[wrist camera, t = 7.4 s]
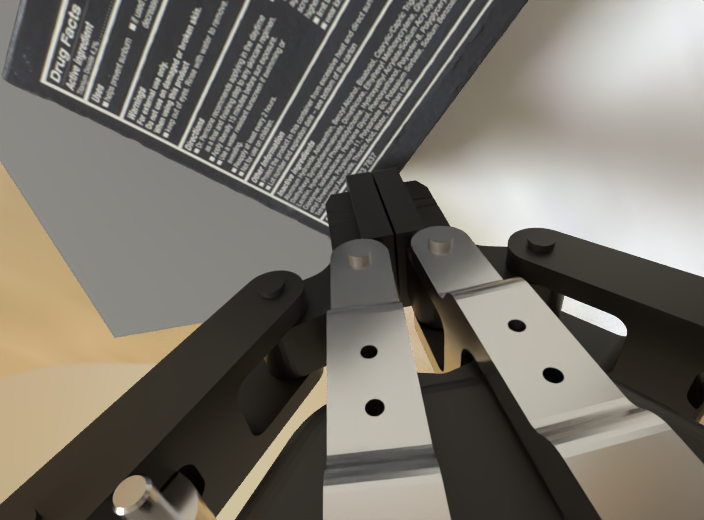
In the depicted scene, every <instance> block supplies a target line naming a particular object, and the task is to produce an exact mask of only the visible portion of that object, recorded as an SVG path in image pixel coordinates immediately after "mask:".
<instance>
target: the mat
mask: <svg viewBox="0 0 704 520" xmlns="http://www.w3.org/2000/svg"><path fill="white" fill-rule="evenodd" d="M19 3H20V0H0V161H1V163H2V164H3V166H4V168H5V169H6V171H7V172H8V174H9V175H10V177H11V178H12V180H13V181H14V183H15V184H16V186H17V188H18V189H19V191H20V192H21V194H22V195H23V197H24V198H25V200H26V201H27V203H28V205H29V206H30V208H31V209H32V211H33V212H34V214H35V215H36V217H37V218H38V220H39V222H40V223H41V225H42V226H43V228H44V229H45V231H46V232H47V234H48V235H49V237H50V239H51V240H52V242H53V243H54V245H55V246H56V248H57V249H58V251H59V252H60V254H61V256H62V257H63V259H64V260H65V262H66V263H67V265H68V266H69V268H70V269H71V271H72V273H73V274H74V276H75V277H76V279H77V280H78V282H79V283H80V285H81V286H82V288H83V290H84V291H85V293H86V294H87V296H88V297H89V299H90V300H91V302H92V303H93V305H94V307H95V308H96V310H97V311H98V313H99V314H100V316H101V317H102V319H103V320H104V322H105V324H106V325H107V327H108V328H109V330H110V331H111V333H112V334H113V336H114V337H115V338H116V337H122V336H128V335H134V334H139V333H145V332H151V331H157V330H162V329H168V328H174V327H180V326H186V325H191V324H197V323H203V322H205V321H206V320H207V319H208V318H210V317H211V316H212V315H213V314H214V313H215V312H216V311H217V310H219V309H220V308H221V307H222V306H223V305H224V304H225V303H226V302H228V301H229V300H230V299H231V298H232V297H233V296H234V295H235V294H236V293H238V292H239V291H240V290H241V289H242V288H243V287H244V286H245V285H247V284H248V283H249V282H250V281H251V280H253V279H254V278H256V277H257V276H259V275H262V274H264V273H267V272H271V271H278V270H284V271H290V272H293V273H296V274H297V275H299V276H300V277H301V279H302V280H305V279H307V278H310V277H312V276H314V275H316V274H318V273H320V272H321V271H323V270H324V269H325V268H326V267H327V266H328V265H329V264H330V257H331V254H332V245H331V240H330V239H328V238H327V237H326V236H325V235H323V234H321V233H319V232H317V231H315V230H313V229H311V228H309V227H307V226H305V225H303V224H300V223H298V222H297V221H296V220H294V219H291V218H289V217H287V216H285V215H282V214H280V213H278V212H276V211H273V210H272V209H270V208H268V207H266V206H264V205H262V204H260V203H259V202H257V201H255V200H253V199H251V198H249V197H246V196H244V195H242V194H240V193H237V192H235V191H234V190H232V189H230V188H227V187H226V186H224V185H221V184H219V183H217V182H215V181H213V180H211V179H209V178H207V177H205V176H203V175H201V174H199V173H197V172H195V171H193V170H191V169H189V168H186V167H184V166H182V165H180V164H178V163H176V162H174V161H172V160H170V159H168V158H166V157H164V156H162V155H160V154H158V153H156V152H154V151H152V150H150V149H148V148H146V147H144V146H142V145H141V144H140V143H138V142H136V141H134V140H131V139H128V138H126V137H124V136H122V135H120V134H118V133H116V132H114V131H112V130H110V129H108V128H106V127H104V126H102V125H100V124H98V123H96V122H94V121H92V120H90V119H88V118H85V117H82V116H79V115H77V114H75V113H73V112H71V111H70V110H68V109H65V108H63V107H61V106H60V105H58V104H56V103H54V102H52V101H49V100H45V99H42V98H40V97H37V96H35V95H33V94H31V93H28V92H26V91H24V90H22V89H20V88H18V87H15V86H13V85H11V84H9V83H7V82H6V81H5V80H3V78H2V71H3V68H4V64H5V59H6V55H7V50H8V46H9V42H10V39H11V35H12V31H13V27H14V23H15V19H16V15H17V11H18V7H19Z"/></svg>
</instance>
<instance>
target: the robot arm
mask: <svg viewBox="0 0 704 520" xmlns="http://www.w3.org/2000/svg"><path fill="white" fill-rule="evenodd" d="M346 185H347V192H343V193H337V194H331V195H330V197H329V199H328V200H327V202H326V204H325V206H326V212H327V219H328V225H329V232H330V239H331V245H332V254H331V257H330V264H329V265H328V266H327V267H326V268H325V269H324V270H323V271H321V272H320V273H318V274H316V275H314V276H312V277H310V278H307V279H305V280H302V279H301V277H300V276H299V275H297V274H296V273H293V272H290V271H284V270H278V271H271V272H267V273H264V274H262V275H259V276H257V277H256V278H254V279H253V280H251V281H250V282H249V283H248V284H247V285H245V286H244V287H243V288H242V289H241V290H240V291H239V292H238V293H236V294H235V295H234V296H233V297H232V298H231V299H230V300H229V301H228V302H226V303H225V304H224V305H223V306H222V307H221V308H220V309H219V310H217V311H216V312H215V313H214V314H213V315H212V316H211V317H210V318H208V319H207V320H206V321H205V322H204V323H203V324H202V325H201V326H200V327H198V328H197V329H196V330H195V331H194V332H193V333H192V334H191V335H189V336H188V337H187V338H186V339H185V340H184V341H183V342H182V343H180V344H179V345H178V346H177V347H176V348H175V349H174V350H173V351H172V352H170V353H169V354H168V355H167V356H166V357H165V358H164V359H163V360H161V361H160V362H159V363H158V364H157V365H156V366H155V367H154V368H152V369H151V370H150V371H149V372H148V373H147V374H146V375H145V376H144V377H142V378H141V379H140V380H139V381H138V382H137V383H136V384H135V385H133V386H132V387H131V388H130V389H129V390H128V391H127V392H126V393H125V394H123V395H122V396H121V397H120V398H119V399H118V400H117V401H116V402H114V403H113V404H112V405H111V406H110V407H109V408H108V409H107V410H105V411H104V412H103V413H102V414H101V415H100V416H99V417H98V418H96V419H95V420H94V421H93V422H92V423H91V424H90V425H89V426H88V427H86V428H85V429H84V430H83V431H82V432H81V433H80V434H79V435H77V436H76V437H75V438H74V439H73V440H72V441H71V442H70V443H69V444H67V445H66V446H65V447H64V448H63V449H62V450H61V451H60V452H58V453H57V454H56V455H55V456H54V457H53V458H52V459H51V460H49V462H47V463H46V464H45V465H44V466H43V467H42V468H41V469H39V470H38V471H37V472H36V473H35V474H34V475H33V476H32V477H30V478H29V479H28V480H27V481H26V482H25V483H24V484H23V485H22V486H20V487H19V488H18V489H17V490H16V491H15V492H14V493H13V494H11V495H10V496H9V497H8V498H7V499H6V500H5V501H4V502H3V503H1V504H0V520H216V516H217V515H218V514H219V512H220V511H221V509H222V508H223V507H224V506H225V504H226V503H227V502H228V500H229V499H230V498H231V496H232V495H233V494H234V492H235V491H236V490H237V488H238V487H239V486H240V485H241V483H242V482H243V481H244V479H245V478H246V476H247V475H248V474H249V473H250V471H251V470H252V469H253V467H254V466H255V465H256V463H257V462H258V461H259V459H260V458H261V457H262V455H263V454H264V453H265V451H266V450H267V449H268V447H269V446H270V445H271V443H272V442H273V441H274V439H275V438H276V437H277V435H278V434H279V433H280V431H281V430H282V429H283V427H284V426H285V425H286V423H287V422H288V421H289V420H290V418H291V417H292V415H293V414H294V413H295V412H296V410H297V409H298V407H299V406H300V405H301V404H302V402H303V401H304V399H305V398H306V397H307V396H308V394H309V393H310V392H311V390H312V389H313V388H314V386H315V385H316V384H317V382H318V381H319V380H320V378H321V376H322V374H323V367H325V366H327V404H326V405H324V406H322V407H321V408H320V409H318V410H317V411H316V412H314V413H313V414H312V415H311V416H310V417H308V418H307V419H306V420H305V421H304V422H303V423H302V424H301V426H300V427H299V428H298V429H297V430H296V431H295V432H294V434H293V435H292V437H291V438H290V439H289V441H288V442H287V444H286V446H285V447H284V448H283V450H282V451H281V453H280V454H279V456H278V457H277V459H276V460H275V462H274V463H273V464H272V466H271V467H270V469H269V470H268V472H267V473H266V475H265V476H264V478H263V479H262V481H261V482H260V484H259V485H258V487H257V488H256V490H255V491H254V493H253V494H252V495H251V497H250V498H249V500H248V501H247V503H246V504H245V506H244V507H243V509H242V510H241V512H240V513H239V515H238V516H237V518H236V519H235V520H704V277H701V276H698V275H694V274H691V273H688V272H685V271H682V270H678V269H675V268H672V267H669V266H666V265H663V264H659V263H656V262H653V261H650V260H647V259H643V258H640V257H637V256H634V255H631V254H628V253H624V252H621V251H618V250H615V249H612V248H608V247H605V246H602V245H599V244H596V243H593V242H589V241H586V240H583V239H580V238H577V237H573V236H570V235H567V234H564V233H561V232H558V231H554V230H550V229H545V228H528V229H523V230H520V231H517V232H515V233H514V234H512V235H511V236H510V238H509V240H508V247H494V246H480V245H475V244H474V242H473V241H472V240H471V238H470V237H469V236H468V235H467V234H466V233H465V232H463V231H462V230H460V229H457V228H454V227H450V225H449V223H448V222H447V220H446V218H445V216H444V215H443V213H442V211H441V210H440V208H439V206H438V205H437V203H436V201H435V200H434V198H433V197H432V194H431V193H430V191H429V189H428V188H427V187H426V186H424V185H423V184H421V183H419V182H417V181H416V180H415V181H409V182H403V180H402V178H401V176H400V174H399V172H398V170H397V169H396V167H394V168H388V169H382V170H376V171H371V173H370V172H364V173H358V174H352V175H346ZM564 295H565V296H567V297H570V298H572V299H575V300H577V301H580V302H582V303H585V304H587V305H590V306H592V307H595V308H597V309H600V310H602V311H605V312H607V313H610V314H612V315H614V316H616V317H617V318H619V319H620V320H621V321H622V322H623V323H624V325H625V326H626V328H627V336H620V335H617V334H614V333H612V332H610V331H607V330H605V329H603V328H600V327H598V326H596V325H593V324H591V323H588V322H586V321H584V320H581V319H579V318H577V317H574V316H572V315H570V314H567V313H565V312H563V311H561V308H562V304H563V299H564ZM398 299H399V300H398ZM407 306H412V308H413V311H414V321H415V329H416V332H417V334H418V336H419V338H420V341H421V343H422V345H423V347H424V350H425V352H426V354H427V356H428V358H429V361H430V363H431V365H432V367H433V369H434V372H435V373H417V370H416V365H415V361H414V356H413V351H412V347H411V342H410V337H409V332H408V328H407V323H406V318H405V314H404V309H403V307H407Z"/></svg>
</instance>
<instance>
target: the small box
mask: <svg viewBox="0 0 704 520" xmlns="http://www.w3.org/2000/svg"><path fill="white" fill-rule="evenodd" d="M527 2H528V0H20V3H19V7H18V11H17V15H16V19H15V23H14V27H13V31H12V35H11V39H10V42H9V46H8V50H7V55H6V59H5V64H4V68H3V71H2V78H3V80H5V81H6V82H7V83H9V84H11V85H13V86H15V87H18V88H20V89H22V90H24V91H26V92H28V93H31V94H33V95H35V96H37V97H40V98H42V99H45V100H49V101H52V102H54V103H56V104H58V105H60V106H61V107H63V108H65V109H68V110H70V111H71V112H73V113H75V114H77V115H79V116H82V117H85V118H88V119H90V120H92V121H94V122H96V123H98V124H100V125H102V126H104V127H106V128H108V129H110V130H112V131H114V132H116V133H118V134H120V135H122V136H124V137H126V138H128V139H131V140H134V141H136V142H138V143H140V144H141V145H142V146H144V147H146V148H148V149H150V150H152V151H154V152H156V153H158V154H160V155H162V156H164V157H166V158H168V159H170V160H172V161H174V162H176V163H178V164H180V165H182V166H184V167H186V168H189V169H191V170H193V171H195V172H197V173H199V174H201V175H203V176H205V177H207V178H209V179H211V180H213V181H215V182H217V183H219V184H221V185H224V186H226V187H227V188H230V189H232V190H234V191H235V192H237V193H240V194H242V195H244V196H246V197H249V198H251V199H253V200H255V201H257V202H259V203H260V204H262V205H264V206H266V207H268V208H270V209H272V210H273V211H276V212H278V213H280V214H282V215H285V216H287V217H289V218H291V219H294V220H296V221H297V222H298V223H300V224H303V225H305V226H307V227H309V228H311V229H313V230H315V231H317V232H319V233H321V234H323V235H325V236H326V237H327V238H328V239H330V232H329V225H328V219H327V212H326V206H325V204H326V202H327V200H328V199H329V197H330V195H331V194H337V193H343V192H347V185H346V175H352V174H358V173H364V172H370V173H371V171H376V170H382V169H388V168H394V167H396V169H397V170H398V172H399V173H400V172H401V170H402V169H403V167H404V166H405V165H406V163H407V162H408V161H409V159H410V158H411V157H412V155H413V154H414V152H415V151H416V150H417V148H418V147H419V146H420V145H421V143H422V142H423V141H424V139H425V138H426V136H427V135H428V134H429V133H430V131H431V130H432V128H433V127H434V126H435V124H436V123H437V122H438V121H439V119H440V118H441V117H442V115H443V114H444V113H445V111H446V110H447V109H448V107H449V105H450V104H451V103H452V102H453V101H454V99H455V98H456V96H457V95H458V94H459V92H460V91H461V89H462V88H463V87H464V85H465V84H466V83H467V82H468V80H469V79H470V78H471V76H472V75H473V74H474V72H475V71H476V69H477V68H478V67H479V65H480V64H481V63H482V61H483V60H484V59H485V57H486V56H487V54H488V53H489V52H490V50H491V49H492V48H493V46H494V45H495V44H496V42H497V41H498V40H499V39H500V38H501V36H502V35H503V34H504V32H505V31H506V30H507V28H508V27H509V25H510V24H511V23H512V21H513V20H514V19H515V17H516V16H517V15H518V13H519V12H520V10H521V9H522V8H523V6H524V5H525V4H526V3H527ZM330 240H331V239H330Z"/></svg>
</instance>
